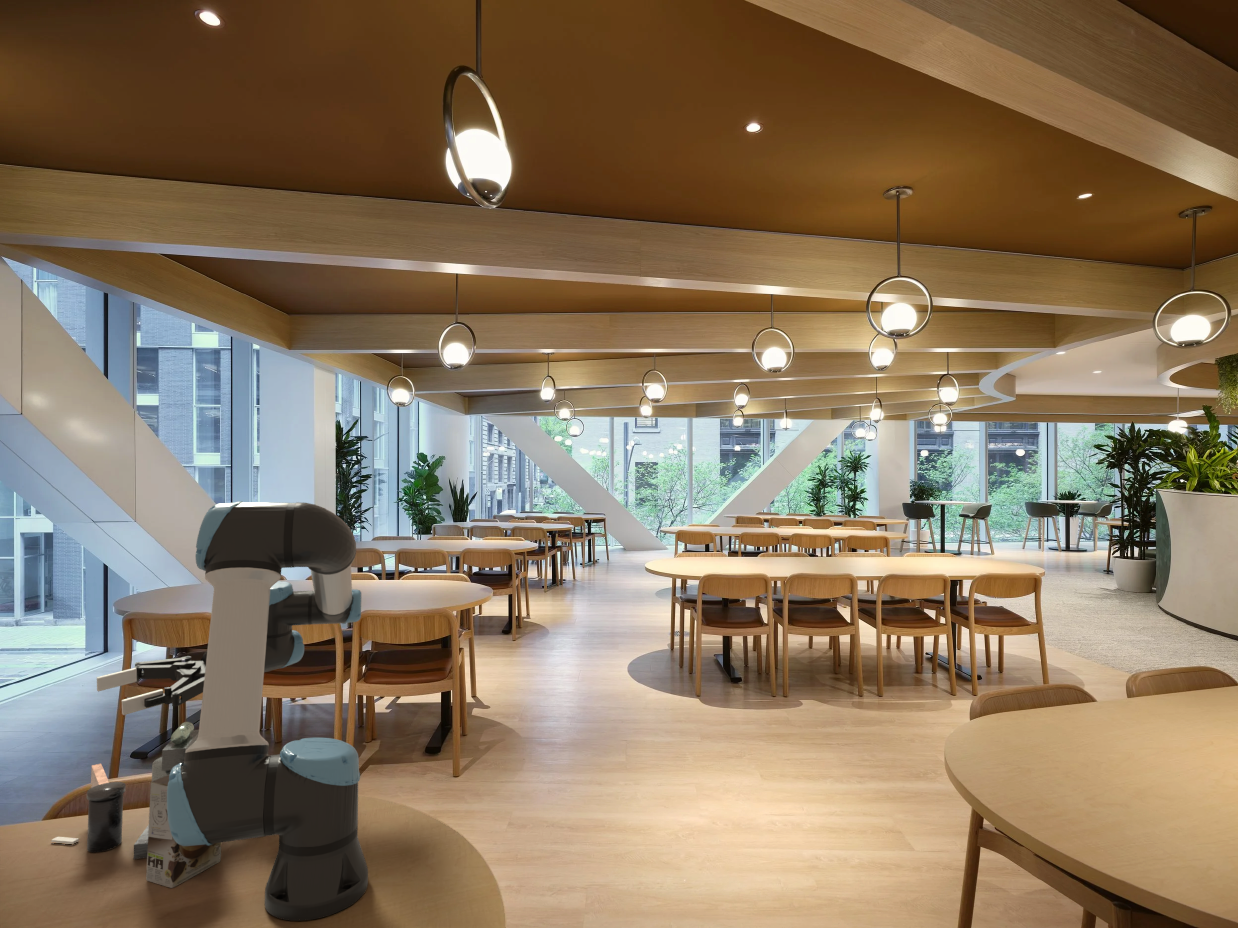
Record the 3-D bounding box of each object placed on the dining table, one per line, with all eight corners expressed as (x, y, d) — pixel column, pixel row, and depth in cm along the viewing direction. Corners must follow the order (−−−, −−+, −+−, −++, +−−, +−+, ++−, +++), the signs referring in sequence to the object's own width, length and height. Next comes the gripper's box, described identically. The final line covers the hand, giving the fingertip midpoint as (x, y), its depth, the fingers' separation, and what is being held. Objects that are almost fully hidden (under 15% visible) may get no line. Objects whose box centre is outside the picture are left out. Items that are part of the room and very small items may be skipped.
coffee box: (173, 889, 113) (176, 787, 113) (144, 881, 115) (148, 781, 115) (222, 861, 121) (225, 766, 122) (195, 853, 124) (198, 761, 124)
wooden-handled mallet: (125, 845, 126) (127, 788, 126) (86, 856, 122) (88, 797, 122) (112, 810, 139) (113, 759, 139) (76, 819, 135) (78, 766, 135)
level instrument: (205, 850, 125) (208, 733, 125) (133, 859, 122) (137, 739, 122) (220, 821, 135) (223, 714, 136) (154, 829, 132) (158, 719, 133)
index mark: (78, 841, 127) (78, 838, 127) (72, 844, 126) (72, 841, 126) (57, 839, 128) (57, 836, 128) (51, 843, 127) (51, 839, 127)
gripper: (255, 700, 143) (134, 737, 126) (202, 663, 158) (88, 693, 141) (255, 664, 142) (133, 698, 125) (202, 631, 157) (87, 657, 140)
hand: (109, 695), depth 133 cm, fingers open, 13 cm apart
